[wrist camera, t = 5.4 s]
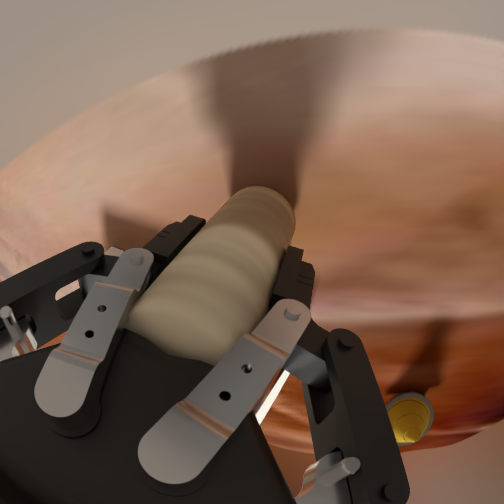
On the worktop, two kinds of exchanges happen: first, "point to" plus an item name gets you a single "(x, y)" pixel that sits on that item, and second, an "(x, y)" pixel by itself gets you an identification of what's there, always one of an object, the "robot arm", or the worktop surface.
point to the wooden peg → (218, 279)
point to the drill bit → (409, 417)
